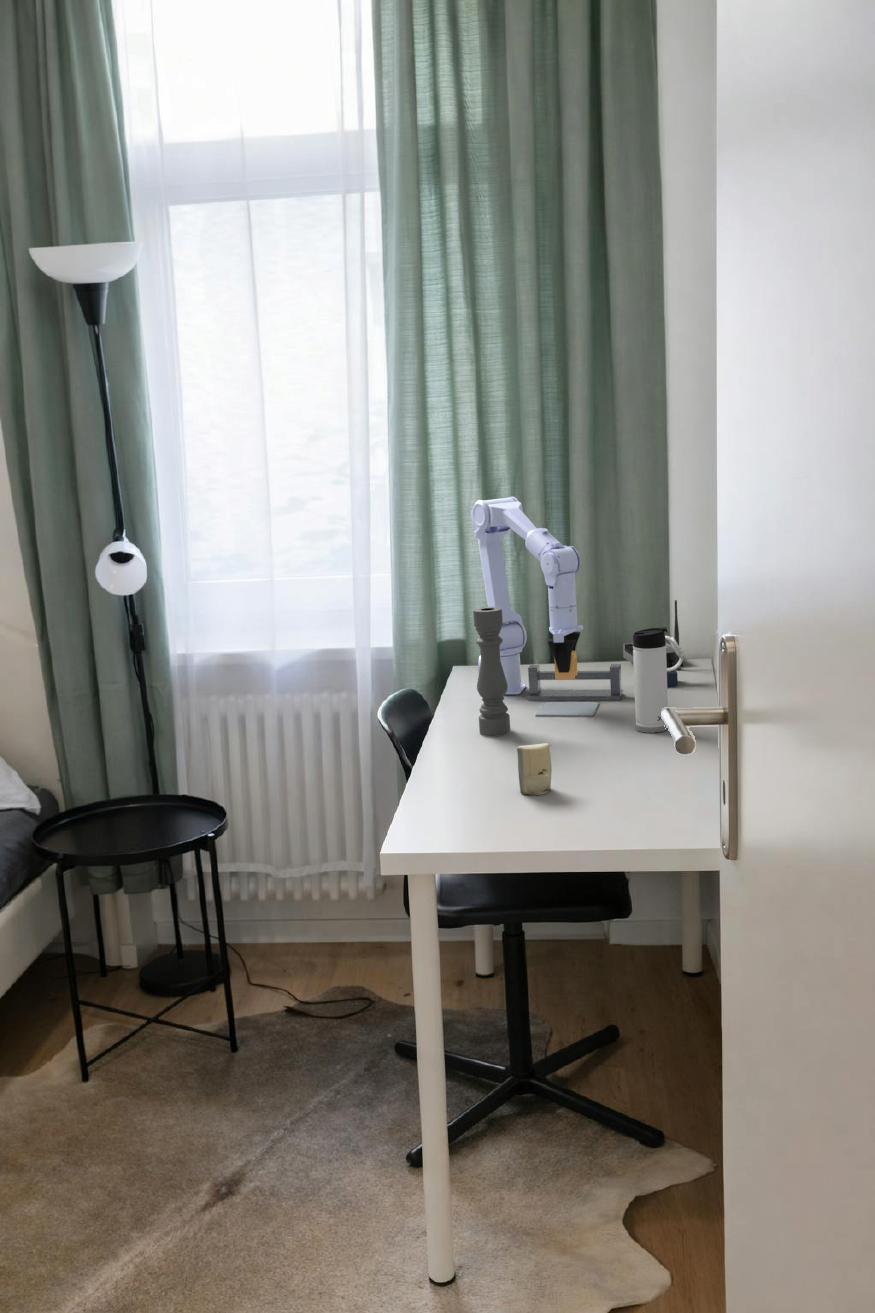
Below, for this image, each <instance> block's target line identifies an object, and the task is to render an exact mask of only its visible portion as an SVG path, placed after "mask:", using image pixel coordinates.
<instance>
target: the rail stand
mask: <svg viewBox="0 0 875 1313" xmlns="http://www.w3.org/2000/svg"><path fill="white" fill-rule="evenodd" d="M621 668H622V665H621V663H611V664H610V666H609V670H577V676H575V679H555V670H549V671H548V670H547V671H545V670H543V671H542V670H541V668H540V664H530V665H529V666H528V667H527V669H528V670H527V672H528V690H529V693H528V694H529V695H528V697H527V698H528V701H529V702H530V701H531V702H533V701H534V702H536V701H537V702H551V701H552V702H557V701H558V702H570V701H571V702H574V701H575V702H576V701H577V702H579V701H580V702H582V701H583V702H586V701H587V702H588V701H589V702H596V701H597V702H601V701H602V702H604V701H606V702H607V701H608V702H609V701H612V702H616V701H617V702H619V701H621V699H622V696H623V689H622V669H621ZM564 680H565V681H573V680H574V681H577V680H579V681H581V680H583V681H585V680H590V681H591V680H593V681H595V680H609V682H610V689H541V681H564Z"/></svg>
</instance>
